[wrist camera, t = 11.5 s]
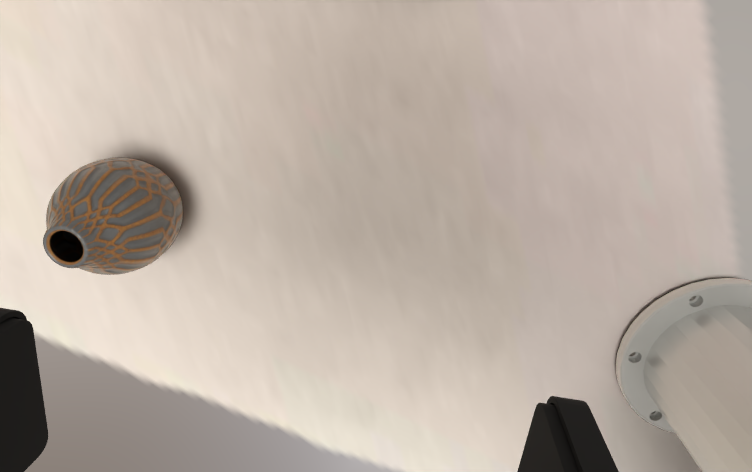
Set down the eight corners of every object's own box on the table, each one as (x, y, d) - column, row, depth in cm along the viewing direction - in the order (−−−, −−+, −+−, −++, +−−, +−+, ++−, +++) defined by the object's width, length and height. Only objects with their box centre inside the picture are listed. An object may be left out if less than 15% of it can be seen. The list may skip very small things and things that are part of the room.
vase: (130, 126, 32) (35, 154, 24) (217, 195, 33) (155, 244, 25) (80, 201, 34) (-23, 250, 26) (163, 263, 36) (90, 329, 27)
